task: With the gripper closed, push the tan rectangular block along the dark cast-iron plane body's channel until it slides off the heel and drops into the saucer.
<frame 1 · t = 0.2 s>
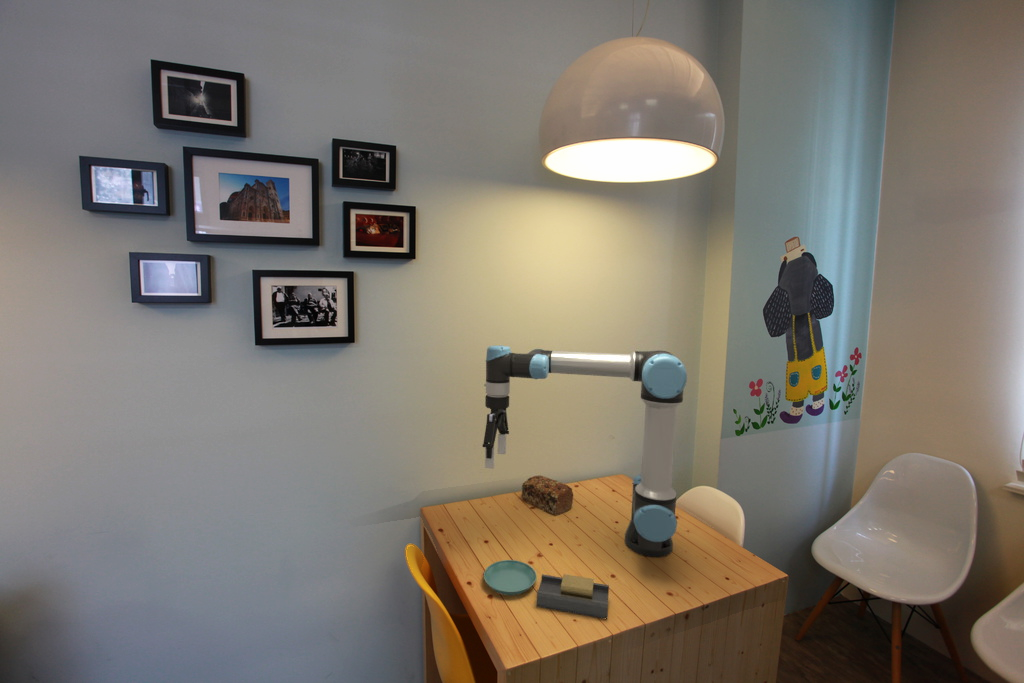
hand: (495, 460, 146), 28 cm above the table, fingers open, 13 cm apart
bread: (546, 505, 178), on the table
saucer: (509, 584, 128), on the table
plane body: (572, 603, 120), on the table
tan rectangular block: (577, 592, 120), point 3 cm above the table, touching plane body
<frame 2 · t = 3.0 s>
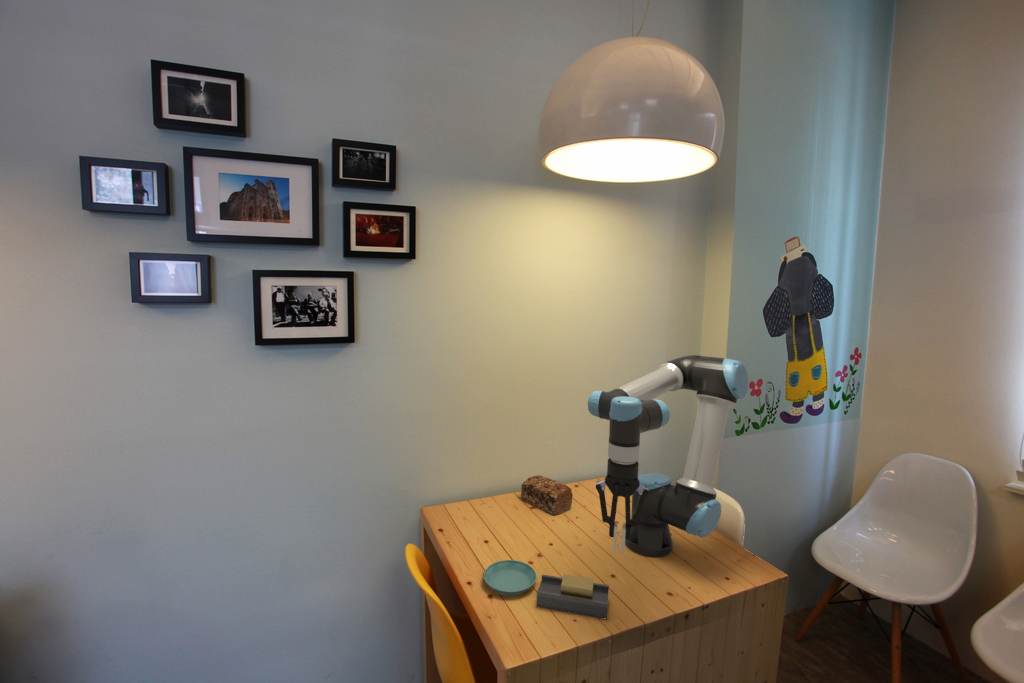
hand: (618, 549, 116), 16 cm above the table, fingers closed
nothing on the table moved.
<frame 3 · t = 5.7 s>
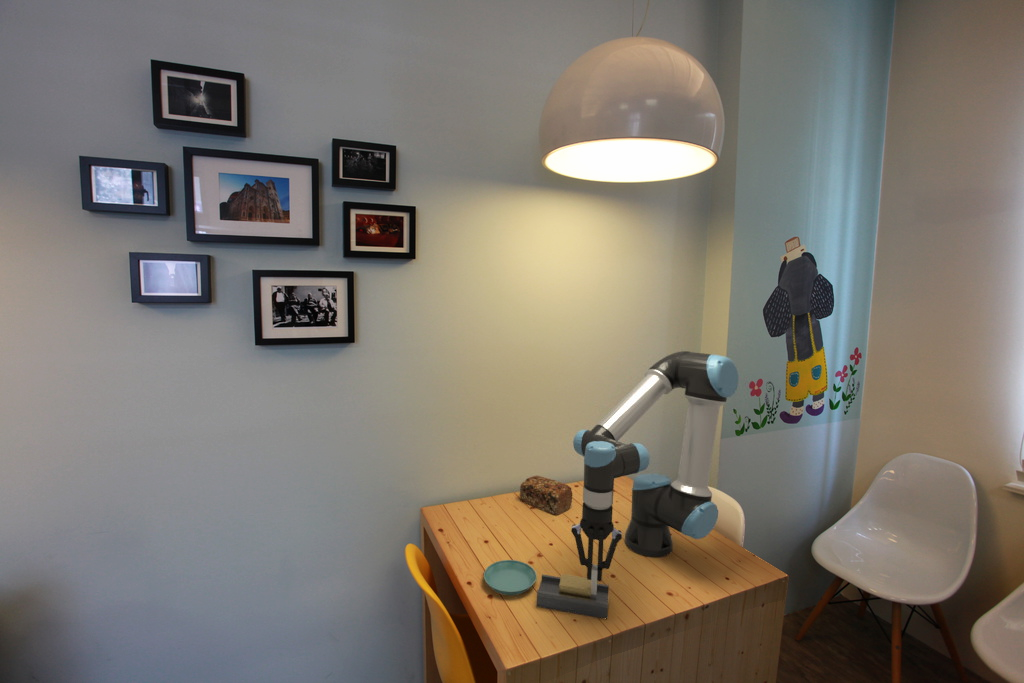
hand: (593, 591, 119), 4 cm above the table, fingers closed
tan rectangular block: (575, 592, 120), point 3 cm above the table, touching gripper
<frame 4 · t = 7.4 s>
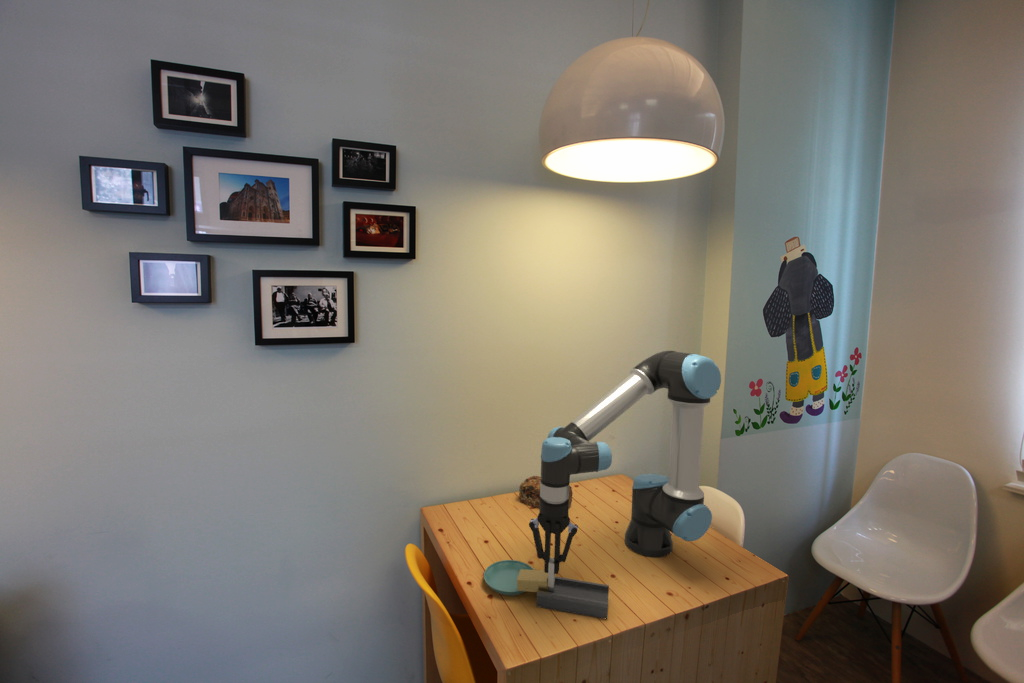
hand: (551, 584, 121), 4 cm above the table, fingers closed
tan rectangular block: (534, 586, 123), point 3 cm above the table, tilted 6°, touching gripper, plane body
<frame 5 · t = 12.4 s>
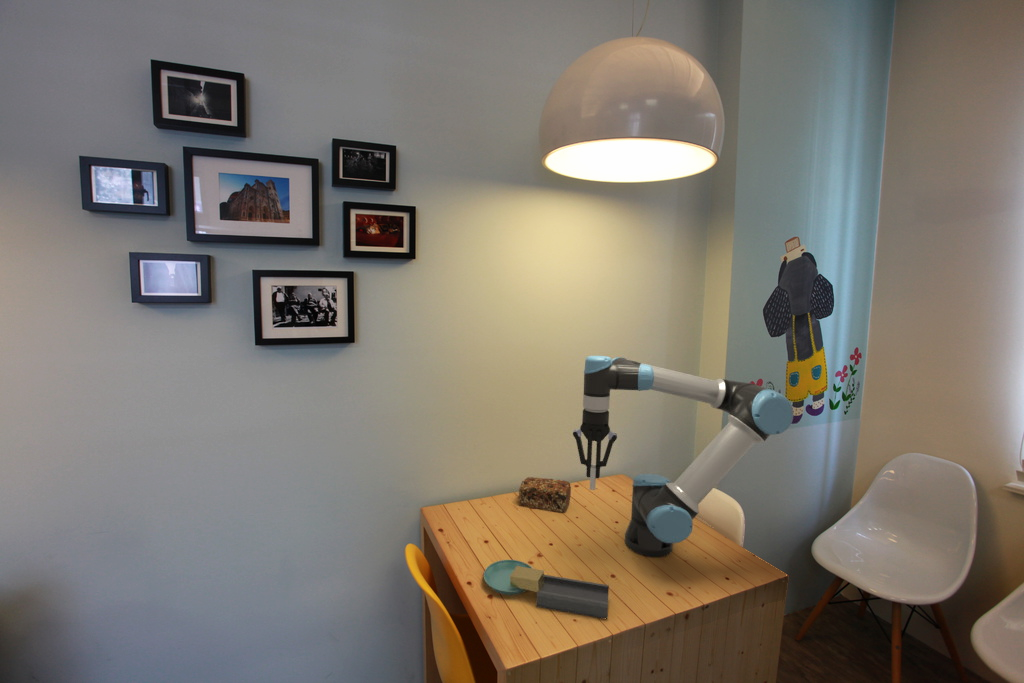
hand: (592, 487, 135), 24 cm above the table, fingers closed
tan rectangular block: (527, 583, 124), point 3 cm above the table, tilted 5°, touching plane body
at the end: tan rectangular block inside the target area (7.1 cm from its centre), point 2.7 cm above the table; tan rectangular block touching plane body, saucer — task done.
